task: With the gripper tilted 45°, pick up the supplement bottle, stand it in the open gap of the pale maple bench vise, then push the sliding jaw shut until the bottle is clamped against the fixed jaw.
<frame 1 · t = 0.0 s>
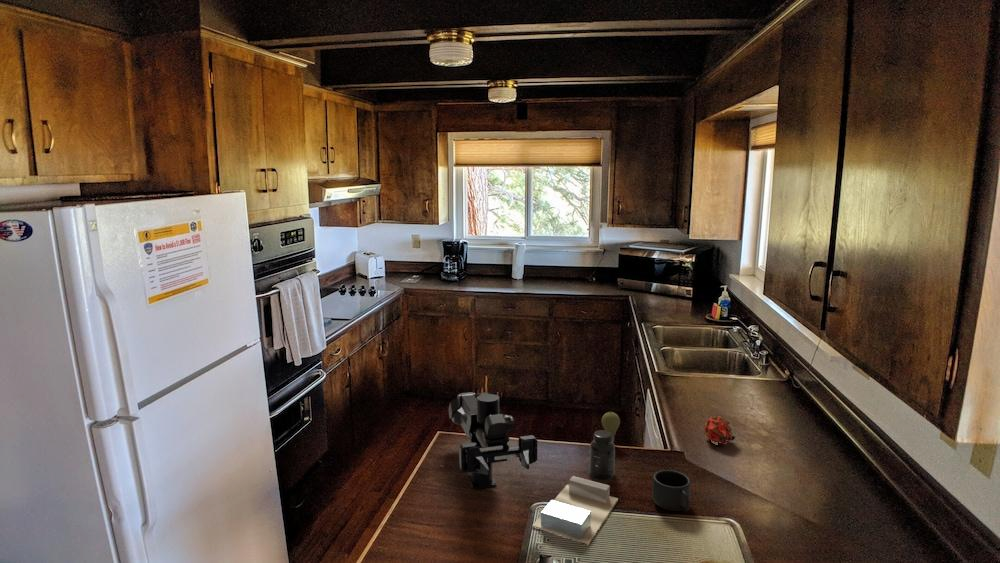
hand: (508, 469, 127), 17 cm above the counter, tool horizontal, fingers open, 9 cm apart
mug: (673, 508, 142), on the counter
supplement bottle: (601, 474, 158), on the counter
sliding jaw: (565, 518, 133), point 3 cm above the counter, slide at 4.5 cm
vise: (579, 510, 140), on the counter
dragon fruit: (717, 443, 177), on the counter
light bulb: (610, 443, 177), on the counter
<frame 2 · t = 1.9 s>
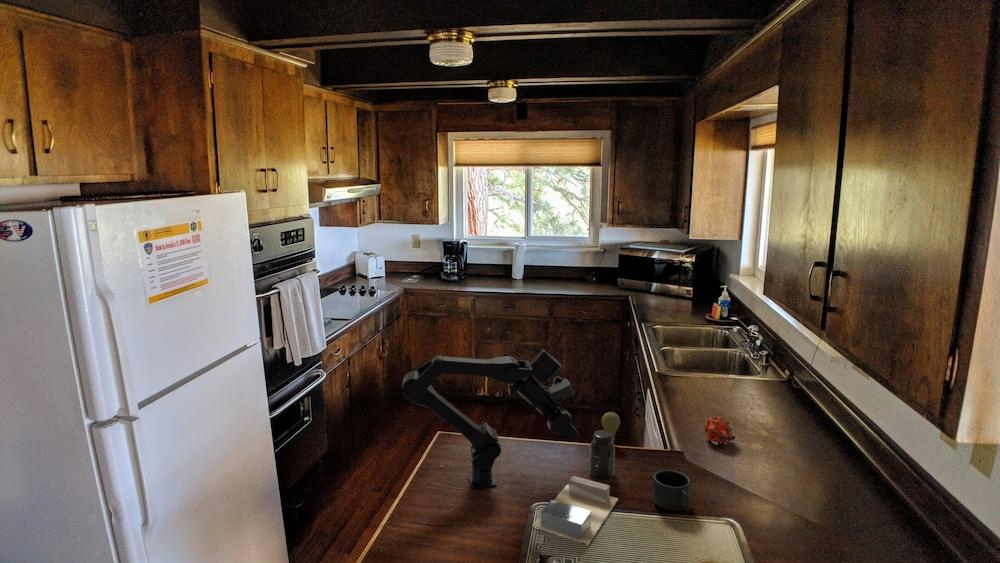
hand: (574, 429, 155), 14 cm above the counter, tool tilted 45°, fingers open, 9 cm apart
nothing on the counter moved.
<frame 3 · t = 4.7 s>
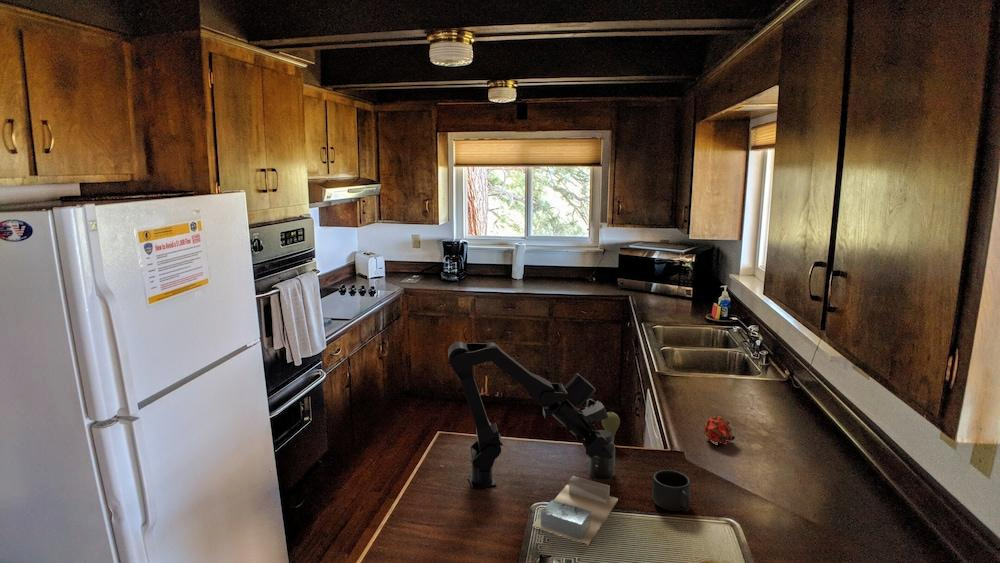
hand: (607, 451, 157), 7 cm above the counter, tool tilted 45°, fingers closed on supplement bottle, 7 cm apart
supplement bottle: (601, 474, 158), on the counter, touching gripper
everything else where it was.
when the fingers open (8 cm above the counter, at t = 9.5 s): supplement bottle stays where it is, resting on vise.
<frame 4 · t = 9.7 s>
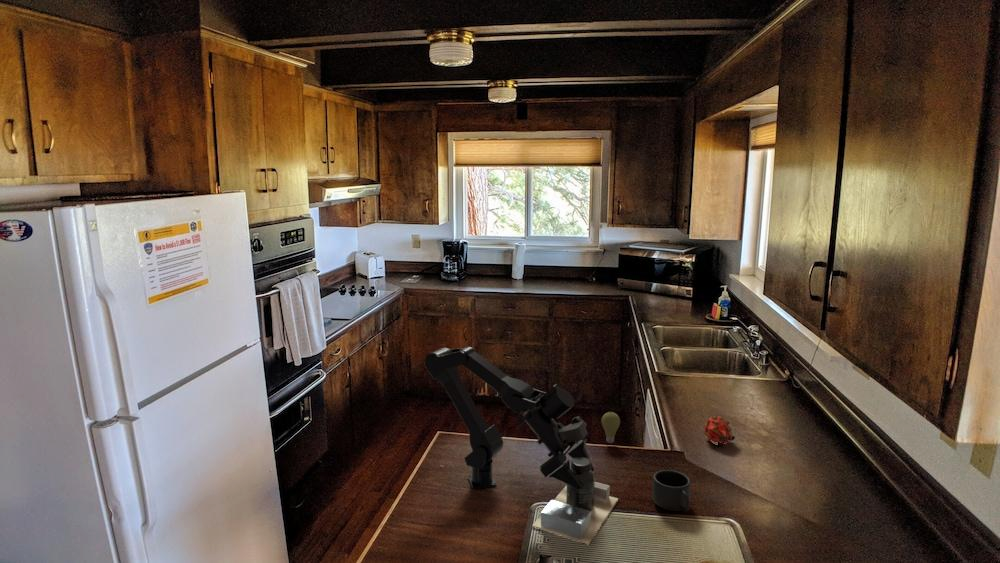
hand: (586, 479, 139), 8 cm above the counter, tool tilted 45°, fingers open, 9 cm apart
supplement bottle: (580, 507, 141), resting on vise
everything else where it was.
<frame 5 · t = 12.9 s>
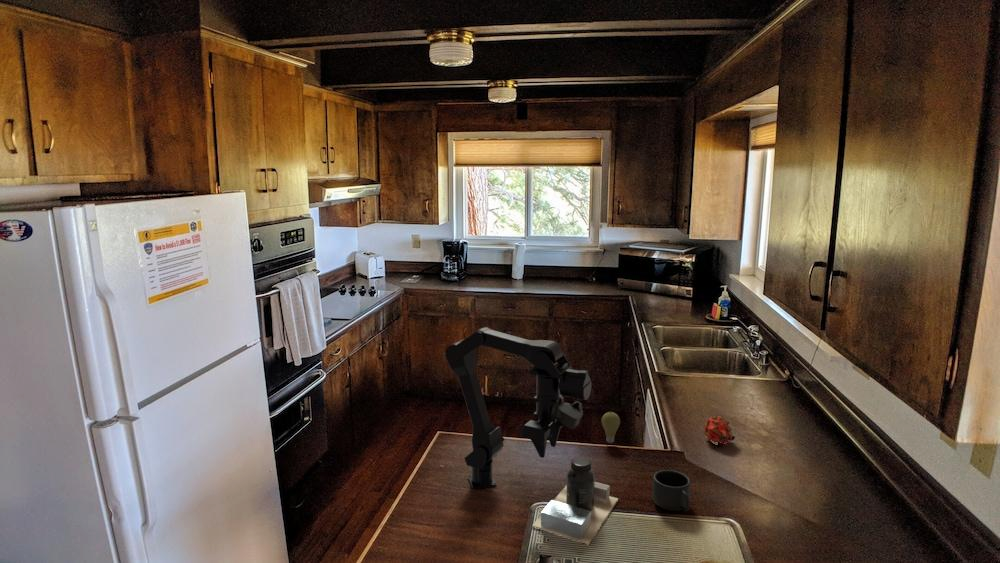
hand: (547, 451, 143), 13 cm above the counter, tool pointing down, fingers open, 6 cm apart
nothing on the counter moved.
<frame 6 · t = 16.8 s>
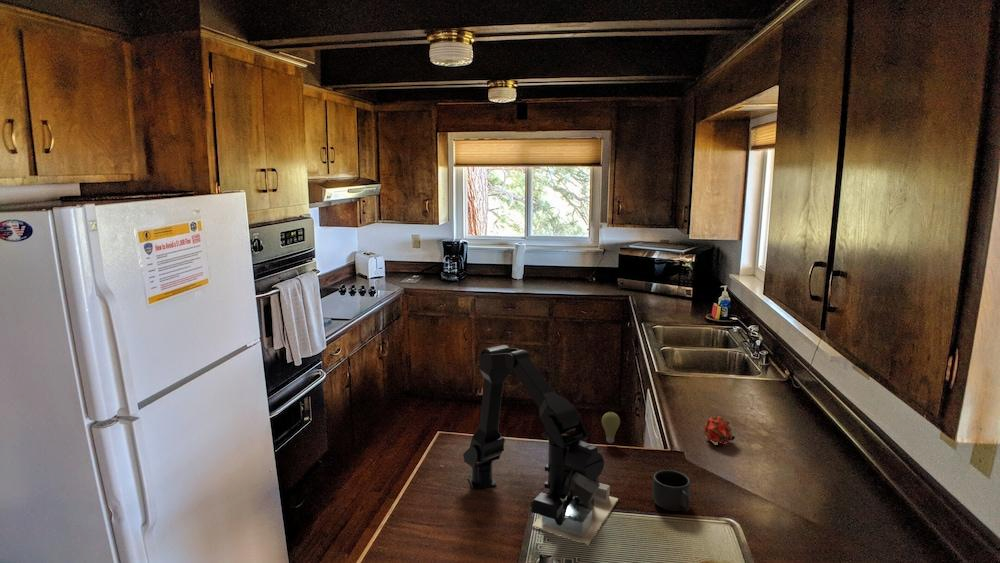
hand: (559, 524, 130), 3 cm above the counter, tool pointing down, fingers closed
sliding jaw: (566, 517, 133), point 3 cm above the counter, slide at 3.9 cm, touching gripper
everything else where it was.
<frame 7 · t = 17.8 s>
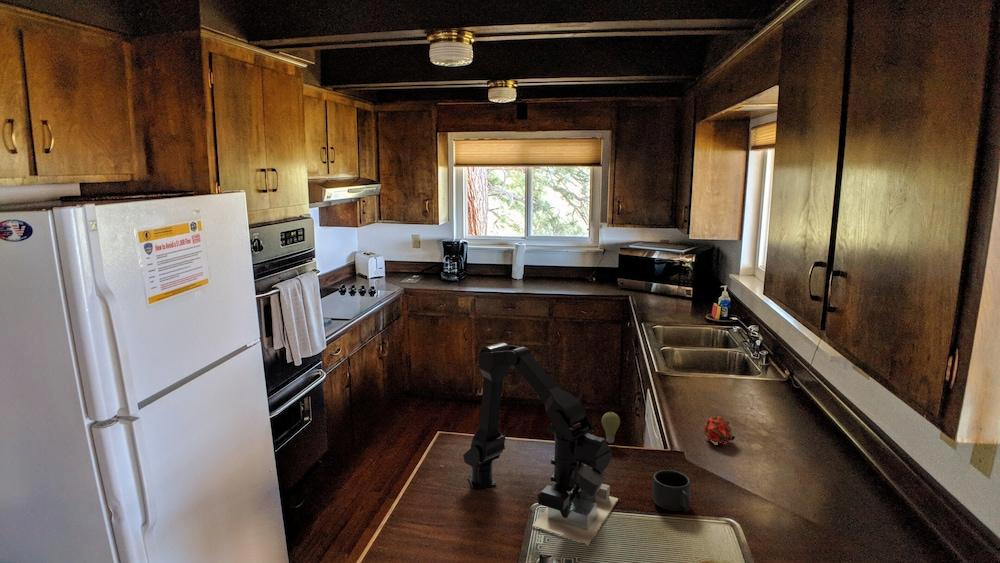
hand: (565, 517, 133), 3 cm above the counter, tool pointing down, fingers closed
supplement bottle: (581, 505, 142), resting on vise, touching sliding jaw
sliding jaw: (572, 510, 136), point 3 cm above the counter, slide at 0.7 cm, touching gripper, supplement bottle
everything else where it was.
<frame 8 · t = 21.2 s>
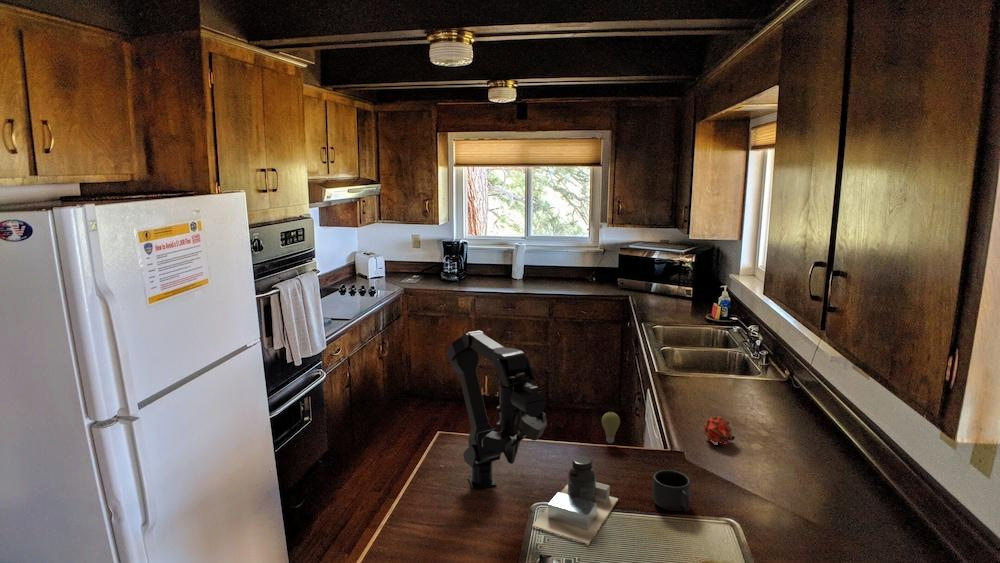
hand: (511, 462, 140), 12 cm above the counter, tool pointing down, fingers closed
supplement bottle: (581, 505, 142), resting on vise
sliding jaw: (572, 510, 136), point 3 cm above the counter, slide at 0.6 cm
everything else where it was.
at the end: supplement bottle 0.2 cm from the target spot on the vise, point 0.4 cm above the vise's base; supplement bottle tilted 0°; sliding jaw slide at 0.6 cm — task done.
